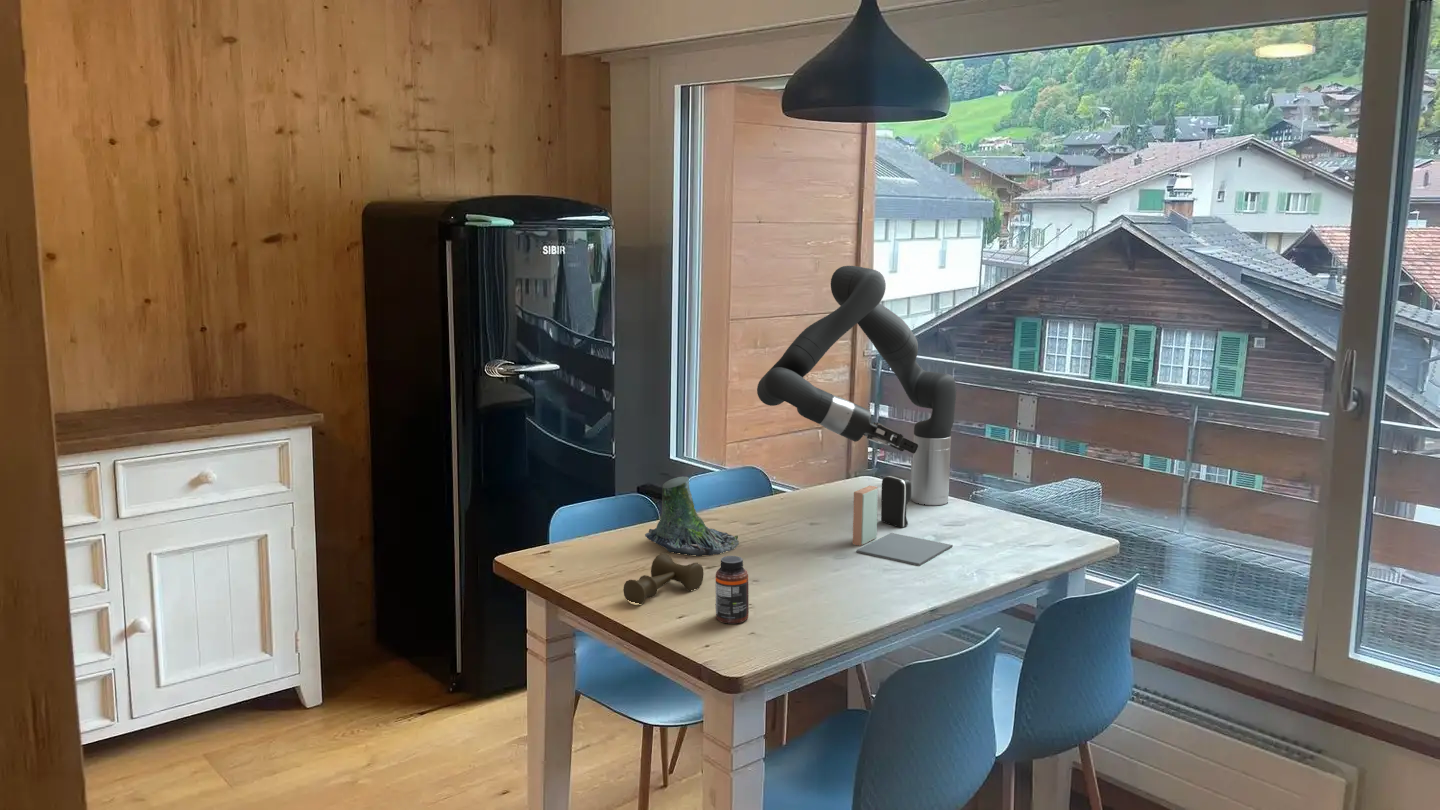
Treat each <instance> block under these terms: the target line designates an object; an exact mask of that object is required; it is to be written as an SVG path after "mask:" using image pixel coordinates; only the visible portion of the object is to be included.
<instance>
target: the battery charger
mask: <svg viewBox="0 0 1440 810" xmlns="http://www.w3.org/2000/svg"><path fill="white" fill-rule="evenodd" d="M880 497H881V498H880V499H881V506H880V507H881V510H880V513H881V515H880V521H881V522H883V523H886V524H888V525H891V526H894V527H898V528H904V527H907V526H908V524H909V522H908V519H907V509H908V508H907V507H908V506H907V505H908V502H909V501H912V498H911V480H909V479H908V478H906V477H902V476H899V475H898V476H897V475H887V476H884V477H883V478H882V481H881V495H880Z"/></svg>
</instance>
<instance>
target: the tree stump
mask: <svg viewBox="0 0 1440 810" xmlns="http://www.w3.org/2000/svg"><path fill="white" fill-rule="evenodd" d="M661 498H662V500H661V501H662V503H661V505H662V506H661V507H662V508H661V518H660V519H659V521H658V522H657V525H656V527H655V528H654V529H652V528H649V530H648V532H646V533H645V534H644V537H645V538H646V539H647V540H649V541H650V542H653V543H655V544H656V545H658V546H661V547H662V548H664V549H665V550H667V552H669V553H671V552H674V553H673V554H677V553H680V554H679V555H684V554H687V555H686V556H690V555H696V556H695V557H703V556H702V555H709V556H714V555H713V554H717V555H721V554H720V553H722V554H724V553H727V552H726V551H728V552H731V551H734V550H735V549H736V548H737V546H738V545H739V543H740V541H739V540H738V538H739V536H738V535H732V534H728V533H727V532H722V531H720V530H716V529H715V528H709V527H708V526H707V525H706V523H705V522H704V520H703V519H702V517H700V516H699V515H698V514H697V511H696V507H695V505H694V501H693V496H692V492H691V487H690V477H688V476H678V477H677V476H676V477H674V478H671V479H669V480H667V481H665V482H664V483H663V484H662V493H661ZM734 548H735V549H734ZM723 552H724V553H723Z"/></svg>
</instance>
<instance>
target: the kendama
mask: <svg viewBox="0 0 1440 810" xmlns="http://www.w3.org/2000/svg"><path fill="white" fill-rule="evenodd" d="M650 575H651V576H649V575H641V576H640V577H639V579H638V580H636V579H628V580H626V581H625V582H624V583H623V584H624V585H623V589H622V592H623V596H624V598H625V600H626V599H627V600H629V601H631V602H635V603H639V604H642V605H643V604H644V602H645V599H646V598H650V597H651V598H654V597H656V596H657V593H658V590H659V589H660V588H662V587H663V586H665V584H667V583H668V582H670V581H671V580H672V581H674V582H675V581H676V582H677V583H680V584H681V585H682V586H683V587H684V589H685V590H686V591H688V592H691V590H694V589H697V588H698V589H699V588H700V587H701V586H702V583H703V580H704V575H705V573H704V567H703V566H702V564H700V563H699V562H693V563H691V564H687V565H685V564H684V565H683V564H680V563H677V562H675V561H674V560H673V558H672V556H671V555H670V554H669V553H667V552H661V553H659V554H658V555H656V556H655V558H654V559H653V560H652V563H651V567H650ZM698 589H697V590H698ZM627 600H626V601H627Z"/></svg>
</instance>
